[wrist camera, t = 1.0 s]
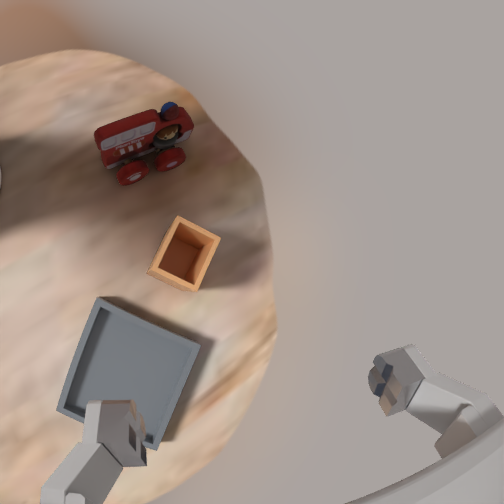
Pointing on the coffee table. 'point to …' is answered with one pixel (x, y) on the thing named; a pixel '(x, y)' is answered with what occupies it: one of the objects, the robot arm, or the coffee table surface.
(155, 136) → the toy fire truck
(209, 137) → the coffee table surface
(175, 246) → the box
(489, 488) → the robot arm
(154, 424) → the tray
